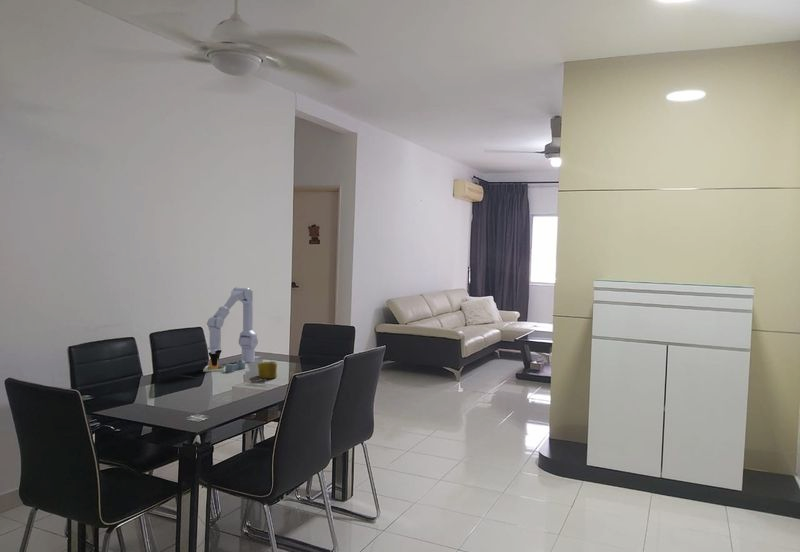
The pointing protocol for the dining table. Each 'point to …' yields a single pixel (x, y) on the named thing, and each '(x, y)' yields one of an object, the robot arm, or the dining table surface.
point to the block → (213, 366)
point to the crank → (235, 366)
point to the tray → (214, 369)
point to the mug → (267, 370)
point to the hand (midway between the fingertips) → (215, 364)
